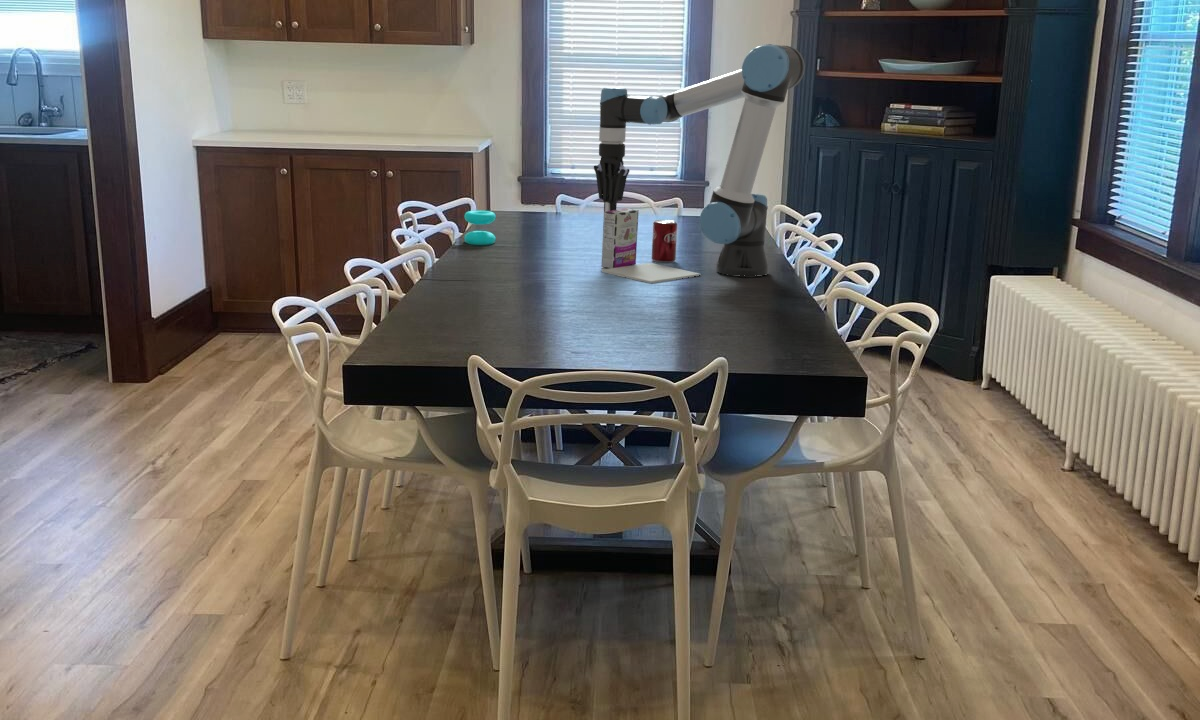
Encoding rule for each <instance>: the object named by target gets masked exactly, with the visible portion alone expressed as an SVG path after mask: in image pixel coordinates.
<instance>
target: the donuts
mask: <svg viewBox="0 0 1200 720" xmlns="http://www.w3.org/2000/svg"><path fill="white" fill-rule="evenodd" d="M496 217H497V216H496V213H495V212H493V211H489V210H468V211H466V212H465V213H464V220H465V221H466V222H467V223H469V224H472V225H489V224H491V223H493V222H494V221H495V220H496ZM496 240H497V239H496V236H495V234H493V233H492V232H490V231H488V230H487V231H484V230H473V231H469V232H468V233H466V234H465V235H464V242H465V243H466V244H469V245H473V246H474V245H475V246H488V245H493V244H494V243H495V242H496Z"/></svg>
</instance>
